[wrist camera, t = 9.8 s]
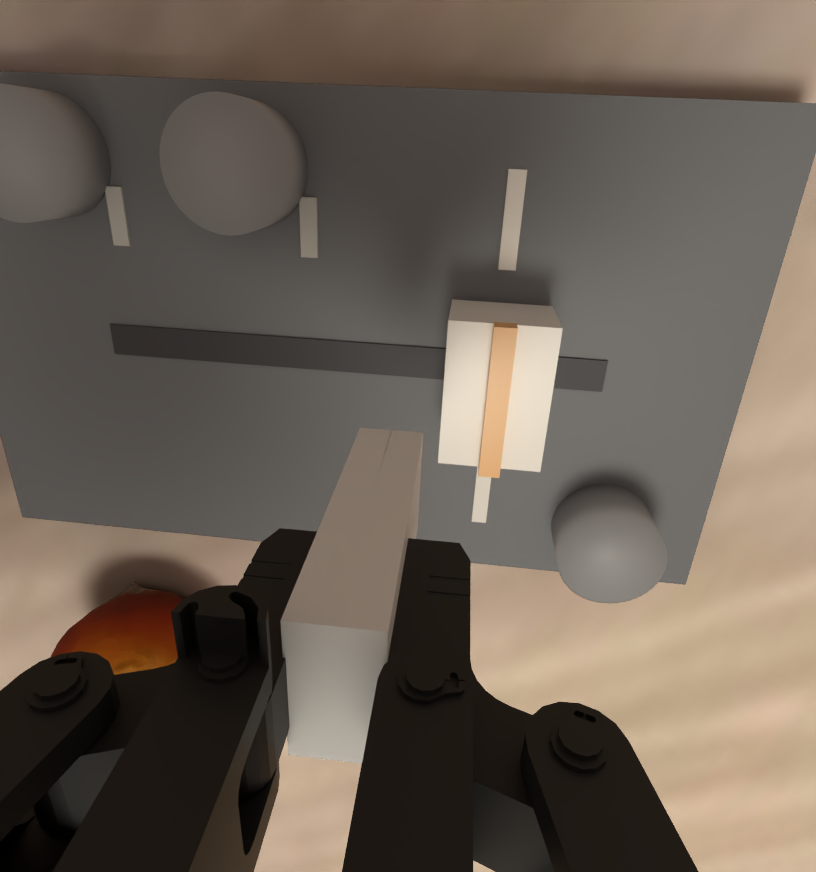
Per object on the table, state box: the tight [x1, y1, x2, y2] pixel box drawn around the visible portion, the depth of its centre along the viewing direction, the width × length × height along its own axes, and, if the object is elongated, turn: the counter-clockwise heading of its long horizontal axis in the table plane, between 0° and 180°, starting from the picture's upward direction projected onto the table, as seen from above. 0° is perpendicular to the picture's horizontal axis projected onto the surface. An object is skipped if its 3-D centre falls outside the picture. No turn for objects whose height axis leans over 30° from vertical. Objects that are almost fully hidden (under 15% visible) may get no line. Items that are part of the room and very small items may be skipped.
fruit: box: [51, 581, 183, 675], centre depth 30 cm, size 8×8×8 cm
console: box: [0, 71, 816, 603], centre depth 23 cm, size 30×18×4 cm, turn 87°
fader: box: [438, 299, 563, 478], centre depth 21 cm, size 4×5×4 cm
